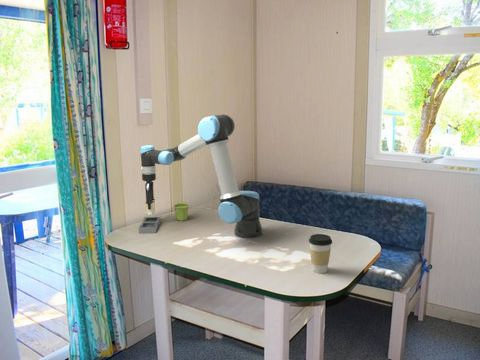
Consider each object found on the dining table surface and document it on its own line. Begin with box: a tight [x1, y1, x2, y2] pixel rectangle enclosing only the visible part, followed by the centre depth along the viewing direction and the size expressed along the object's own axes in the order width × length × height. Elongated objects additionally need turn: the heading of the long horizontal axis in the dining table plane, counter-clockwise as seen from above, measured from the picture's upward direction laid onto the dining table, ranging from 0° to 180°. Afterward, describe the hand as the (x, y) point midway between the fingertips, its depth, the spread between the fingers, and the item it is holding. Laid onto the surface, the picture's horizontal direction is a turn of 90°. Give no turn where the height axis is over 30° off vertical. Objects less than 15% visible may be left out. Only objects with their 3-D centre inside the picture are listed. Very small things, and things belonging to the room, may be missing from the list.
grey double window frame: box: [138, 216, 162, 234], centre depth 256 cm, size 9×20×3 cm, turn 2°
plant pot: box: [173, 202, 190, 222], centre depth 269 cm, size 9×9×9 cm
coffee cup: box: [308, 233, 333, 274], centre depth 194 cm, size 10×10×15 cm
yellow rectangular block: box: [144, 200, 156, 216], centre depth 259 cm, size 4×4×7 cm
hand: (150, 213), depth 260 cm, fingers closed on yellow rectangular block, 4 cm apart
